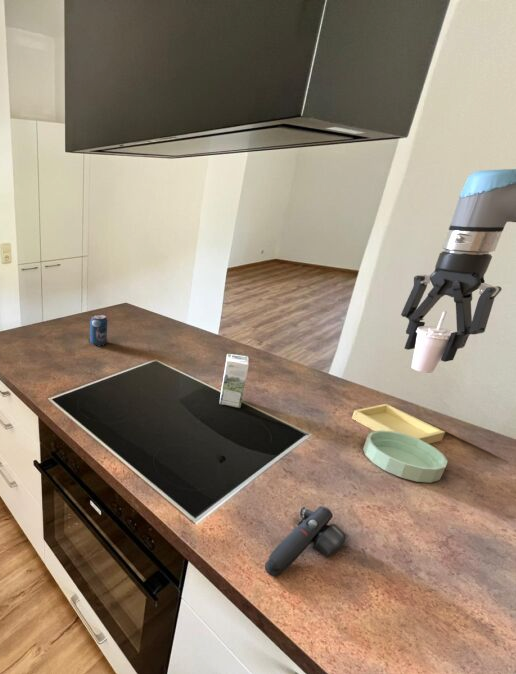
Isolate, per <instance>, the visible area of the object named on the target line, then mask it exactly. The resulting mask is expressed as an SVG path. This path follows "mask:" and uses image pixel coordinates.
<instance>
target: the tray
mask: <svg viewBox="0 0 516 674" xmlns="http://www.w3.org/2000/svg"><path fill="white" fill-rule="evenodd" d="M351 419H352V420H354V421H355V420H356V421H355V422H357V423H359V424H361V425H363V426H365V427H366V428H368V429H370V430H372V432H374V431H378V430H381V431H393V432H397V433H402V434H406V435H409V436H411V437H414V438H417V439H420V440H422V441H424V442H426V443H427V444H429V445H432V444H434V443H438V442H442V440H443V438H444V436H445V433H446V431H444V430H442V429H441V428H438V427H436V426H434V425H432V424H429V423H427V422H425V421H423V420H421V419H419V418H417V417H415V416H413V415H411V414H409V413H407V412H404V411H402V410H400V409H398V408H397V407H394V406H392V405H390V404H388V403H383V404H378V405H373V406H368V407H363V408H359V409H354V410H353V414H352V416H351Z"/></svg>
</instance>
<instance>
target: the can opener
mask: <svg viewBox="0 0 516 674" xmlns="http://www.w3.org/2000/svg"><path fill="white" fill-rule="evenodd" d="M299 517H300V518H301V519H300V520H299V521H298V523H297V526H296V527H295V528H294V529H293V530H292V531H291V532H290V533H289V534H287V536H286V537H285V538H284V539H282V541H280V543H279V544H278V545H277V546H276V548H274V550H273V551H272V552H271V554H269V556H268V560H267V561H266V562H265V564H264V569H265V572H266V573H267V574H268V575H269V576H271V577H274V578H275V577H279V575H281V574H283V573H284V571H286V570H287V569H288V568H289V567H290V566H291V565H292V564H293V563H294V562H295V561H296V560H297V559H298V558H299V557H300V555H302V553H303V552H304V551H305V550H306V549H307V547H309V545H310V544H311V543H312V542H314V544H313V546H312V549H313V550H315V551H316V552H318V553H319V554H320V555H322V556H324V557H325V558H328V557H331V556H332V555H334V554H336V553H337V552H338V551H340V549H341V548H342V547H343V545H344V543H345V542H346V537H347V534H346V533H345V532H344V531H343V530H342V529H341V528H340V527H339V526H338V525H337V524H336V523H332V524H330V525H329V522H330V521H331V520H332V519H333V517H334V515H333V513H332V511H331V510H330V509H329V508H328V507H326V506H319V507H318V508H317V509H316V510H315V511H313V510H311V509H309V508H308V507H305V506H301V508H300V509H299Z"/></svg>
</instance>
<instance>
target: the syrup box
mask: <svg viewBox="0 0 516 674" xmlns="http://www.w3.org/2000/svg"><path fill="white" fill-rule="evenodd" d="M249 362H250V361H249V356H248V355H241V354H232V353H227V354H226V358H225V364H224V365H225V366H224V372H223V377H222V385H221V389H220V397H219V405H221V406H227V407H232V408H237V409H241V407H242V402H243V398H244V397H243V396H244V392H245V387H246V383H247V376H248V372H249V366H250V363H249Z"/></svg>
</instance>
